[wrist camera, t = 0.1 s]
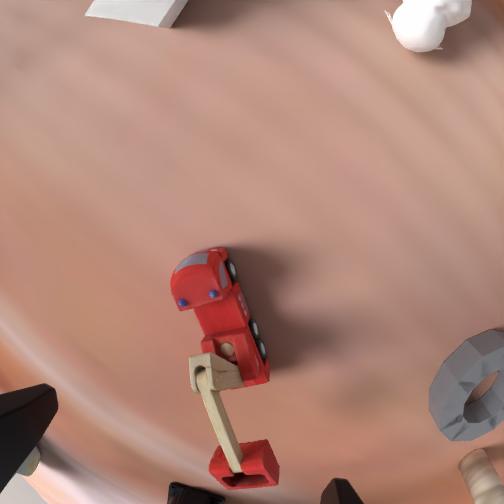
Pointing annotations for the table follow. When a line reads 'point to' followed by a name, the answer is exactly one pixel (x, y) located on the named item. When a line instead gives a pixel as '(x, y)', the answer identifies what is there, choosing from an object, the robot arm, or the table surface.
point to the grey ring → (469, 388)
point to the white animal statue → (427, 21)
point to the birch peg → (481, 478)
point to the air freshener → (30, 463)
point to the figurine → (139, 11)
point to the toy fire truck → (225, 362)
